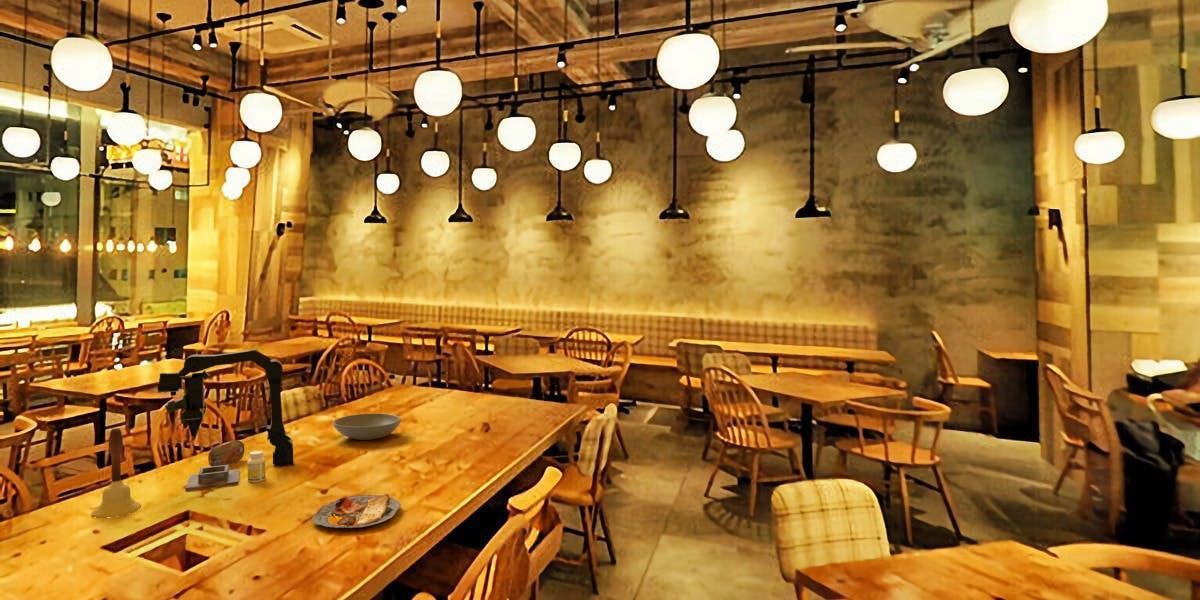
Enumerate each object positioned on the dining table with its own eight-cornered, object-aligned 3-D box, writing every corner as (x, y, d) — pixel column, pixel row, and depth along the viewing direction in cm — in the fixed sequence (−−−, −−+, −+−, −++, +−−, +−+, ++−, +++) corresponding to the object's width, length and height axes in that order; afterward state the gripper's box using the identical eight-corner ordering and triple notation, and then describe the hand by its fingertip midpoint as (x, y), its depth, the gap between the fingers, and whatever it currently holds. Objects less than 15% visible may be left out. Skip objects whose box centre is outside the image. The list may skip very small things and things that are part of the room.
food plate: (332, 500, 198) (332, 490, 197) (406, 500, 200) (407, 490, 199) (301, 535, 173) (301, 523, 173) (386, 535, 175) (386, 523, 175)
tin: (213, 471, 224) (213, 448, 224) (206, 470, 225) (206, 447, 225) (245, 459, 239) (245, 437, 239) (238, 458, 240) (238, 437, 239)
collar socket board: (239, 471, 224) (239, 460, 224) (238, 484, 211) (238, 472, 211) (190, 477, 217) (190, 466, 217) (185, 491, 204) (185, 479, 204)
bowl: (388, 447, 260) (388, 427, 259) (322, 445, 260) (322, 426, 260) (409, 430, 287) (409, 413, 287) (349, 429, 287) (349, 411, 287)
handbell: (83, 521, 179) (82, 435, 177) (98, 506, 190) (97, 425, 189) (135, 515, 183) (134, 432, 182) (146, 500, 195) (146, 422, 194)
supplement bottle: (260, 476, 220) (260, 449, 219) (268, 479, 217) (268, 452, 216) (244, 480, 215) (244, 452, 215) (252, 483, 212) (252, 455, 212)
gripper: (170, 387, 224) (170, 430, 224) (163, 396, 207) (163, 442, 208) (206, 385, 229) (206, 427, 230) (202, 394, 213) (202, 439, 213)
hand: (194, 433), depth 220 cm, fingers open, 9 cm apart
